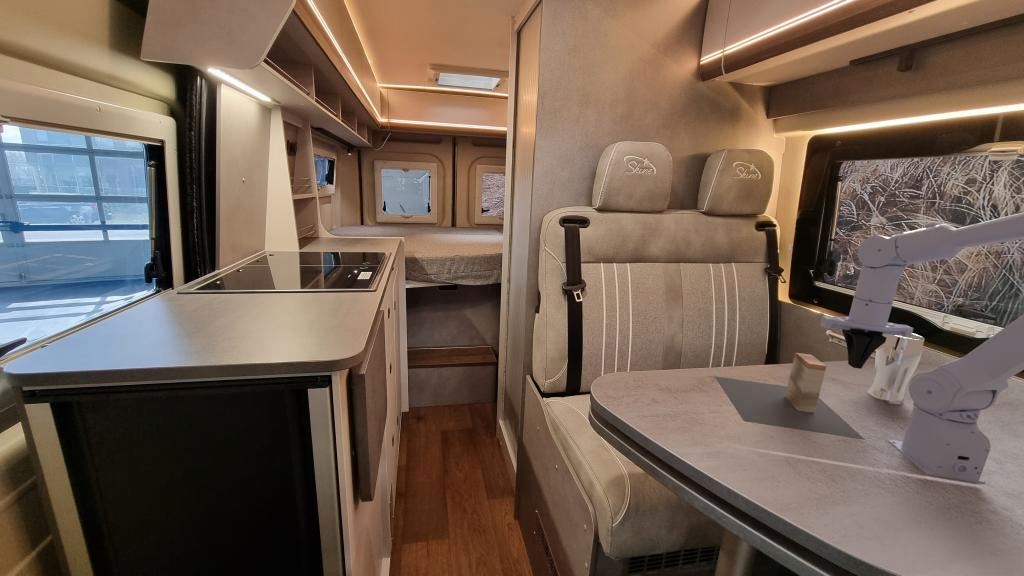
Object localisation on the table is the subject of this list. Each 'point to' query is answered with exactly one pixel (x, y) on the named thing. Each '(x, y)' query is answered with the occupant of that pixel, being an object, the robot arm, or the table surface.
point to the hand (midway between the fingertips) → (854, 366)
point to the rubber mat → (781, 408)
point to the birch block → (805, 382)
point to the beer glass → (895, 367)
